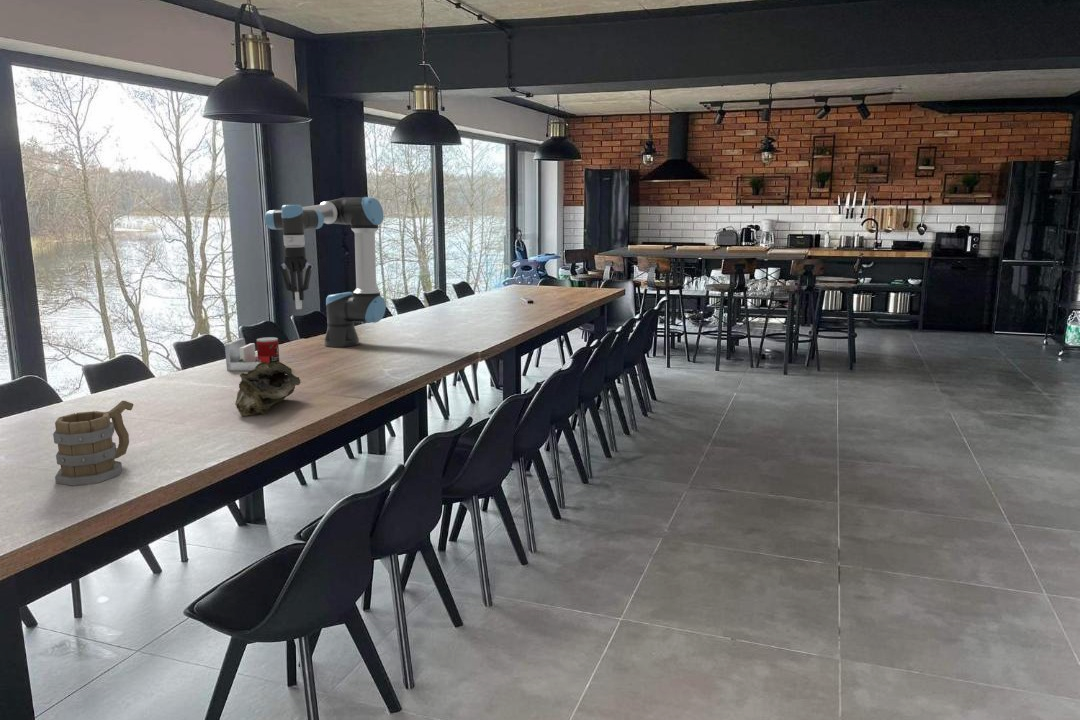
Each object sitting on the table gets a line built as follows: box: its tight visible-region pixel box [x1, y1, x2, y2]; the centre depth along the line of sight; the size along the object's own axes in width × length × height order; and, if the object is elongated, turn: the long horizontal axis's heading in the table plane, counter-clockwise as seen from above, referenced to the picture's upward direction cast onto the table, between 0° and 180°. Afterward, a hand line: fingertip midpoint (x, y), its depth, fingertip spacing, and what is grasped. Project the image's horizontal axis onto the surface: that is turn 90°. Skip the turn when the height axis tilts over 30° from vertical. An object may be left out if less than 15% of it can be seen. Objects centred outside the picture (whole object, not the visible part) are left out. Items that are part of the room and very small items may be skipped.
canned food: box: [256, 336, 280, 363], centre depth 296 cm, size 8×8×11 cm
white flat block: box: [238, 342, 257, 362], centre depth 295 cm, size 13×2×8 cm, turn 177°
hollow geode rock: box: [235, 361, 301, 417], centre depth 236 cm, size 28×13×15 cm
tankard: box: [52, 400, 134, 487], centre depth 178 cm, size 20×13×15 cm, turn 158°
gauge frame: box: [224, 337, 262, 371], centre depth 296 cm, size 14×13×10 cm
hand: (299, 308), depth 293 cm, fingers closed
